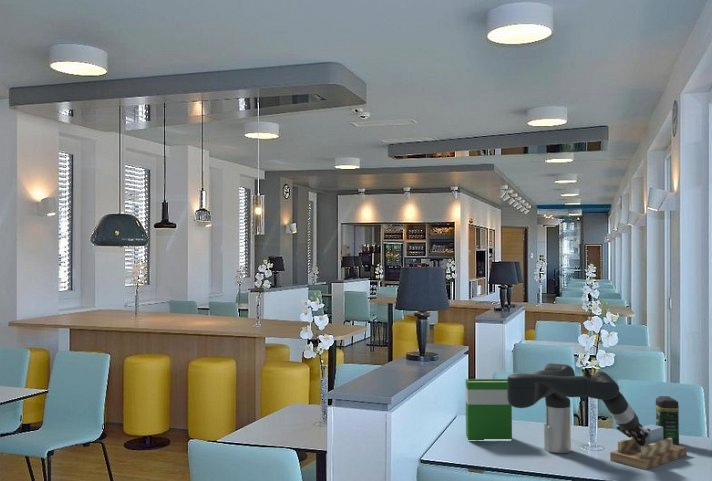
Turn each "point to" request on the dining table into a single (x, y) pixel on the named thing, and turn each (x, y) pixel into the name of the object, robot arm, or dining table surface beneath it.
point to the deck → (647, 453)
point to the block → (653, 434)
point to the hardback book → (488, 409)
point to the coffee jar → (668, 417)
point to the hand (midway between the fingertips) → (642, 443)
